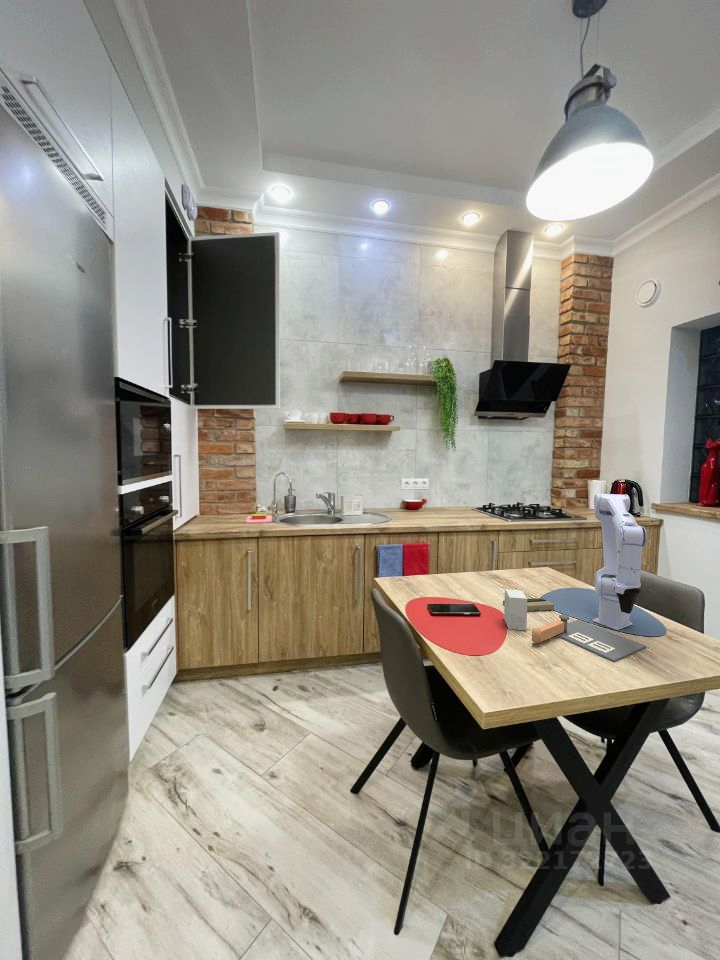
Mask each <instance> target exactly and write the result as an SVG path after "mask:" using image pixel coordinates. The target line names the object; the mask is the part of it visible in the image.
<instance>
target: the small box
mask: <svg viewBox="0 0 720 960" xmlns="http://www.w3.org/2000/svg"><path fill="white" fill-rule="evenodd" d="M528 599H529V598H528V597H527V596H526V595H525V593H524V591H523V590H518V589H507V588H505V589H504V600H505V604H504V605H503V606H504V607H503V608H504V609H503V620H504V622H505V624H506V626H507V628H508V630H515V631H516V630H517V631H527V623H528V621H527V619H528V612H527V600H528Z"/></svg>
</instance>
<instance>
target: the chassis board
mask: <svg viewBox="0 0 720 960" xmlns="http://www.w3.org/2000/svg"><path fill="white" fill-rule="evenodd" d="M558 618H559V619H560V621H562V622H564V632H562V633H560V634H557V635H555V636H556V637H557V638H560V639H562V640H564V641H566V642H568V643H571V644H573V645H575V646H578V647H579V648H581V649H583V650H586V651H588V652H591V653H593V654H595V655H598V656H599V657H602V658H603V659H606V660H608V661H610V662H613V663H615V662H618V661H620V660H623V659H625V658H626V657H629V656H631V655H633V654H637V653H638V652H640V651H643V650H645V649H647V645H646V644H642V643H640V642H638V641H636V640H635V641H634V640H632V639H630V638H627V637H625V636H622V635H620V634H617V633H614V632H612V631H610V630H607V629H605V628H602V627H599V626H597V625H594V624H592V623H589V622H586V621H584V620H581V619H576V620H573V621H570V622H568V621H569V620H570V616H568V615H566V614H559V617H558ZM555 636H554V637H555Z"/></svg>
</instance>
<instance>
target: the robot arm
mask: <svg viewBox="0 0 720 960" xmlns="http://www.w3.org/2000/svg"><path fill="white" fill-rule="evenodd" d="M630 508H631V498H630V496H629V495H628V494H625V493H624V494H618V493H617V494H614V493H599V492H597V493H596V494H595V495H594V497H593V514H594V519H596V520H598V521H599V522H600V526H601V536H602V549H603V550H602V553H603V554H602V555H603V556H602V557H603V567H601V568H600V569H598V570H597V571H596V572H595V574H594V591H595V593H596V594H597V595H598V596H599V597H598V598H599V601H598V617H595V618H592V622H595V623H597V624H600V625H602V626H604V627H607V628H611V629H613V630H614V631H619V630H622V629H624V628H627V627H630V626H632V625H633V622H631V621H630V617H631V613H632V611H633V608H634V605H635V602H636V599H637V598H638V596H639V595H640V594H641V591H642V590H641V589H640V588H641V586H642V584H641V572H642V560H643V559H642V556H643V548H645V546H646V543H647V537H648V535H647V531H646V528H645V526H642V525H639V524H638V523H637V520H636V519H635V517H634V515H632V514H631V513H630V512H629V511H630Z"/></svg>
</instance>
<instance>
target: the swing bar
mask: <svg viewBox="0 0 720 960" xmlns="http://www.w3.org/2000/svg"><path fill="white" fill-rule="evenodd" d="M562 632H564V622H562V621H561V619H560V620H559V619H557V620H555V621H552V622H549V623H547V624H544V625H541V626H539V627H537V628H532V629H531V641H532V642H533V643H538V644H540V643H541V642H543V641H546V640H548V639H551V638H552V637H555V635H557V634H560V633H562Z"/></svg>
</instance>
